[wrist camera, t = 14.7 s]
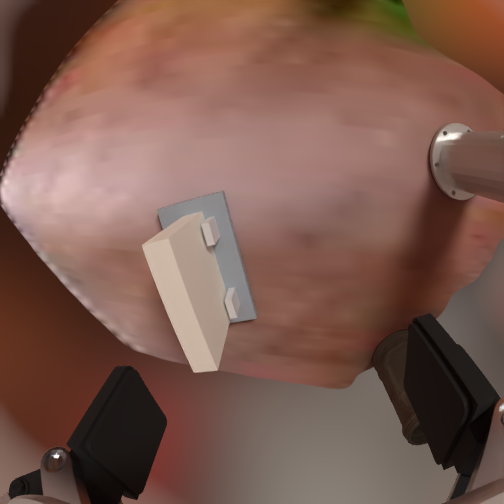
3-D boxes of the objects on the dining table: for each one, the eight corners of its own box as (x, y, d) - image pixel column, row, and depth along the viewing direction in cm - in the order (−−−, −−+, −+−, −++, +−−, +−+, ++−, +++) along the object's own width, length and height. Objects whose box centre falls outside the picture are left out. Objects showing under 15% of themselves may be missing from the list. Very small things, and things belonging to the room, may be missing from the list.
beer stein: (385, 383, 49) (422, 453, 30) (358, 359, 47) (396, 439, 28) (441, 332, 46) (495, 390, 27) (419, 302, 44) (483, 363, 25)
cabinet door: (202, 211, 39) (168, 238, 26) (232, 311, 44) (217, 370, 31) (175, 218, 40) (132, 247, 27) (207, 315, 44) (184, 373, 31)
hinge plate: (223, 190, 40) (216, 195, 34) (257, 313, 45) (255, 332, 40) (160, 208, 41) (145, 215, 36) (199, 323, 47) (191, 341, 42)
